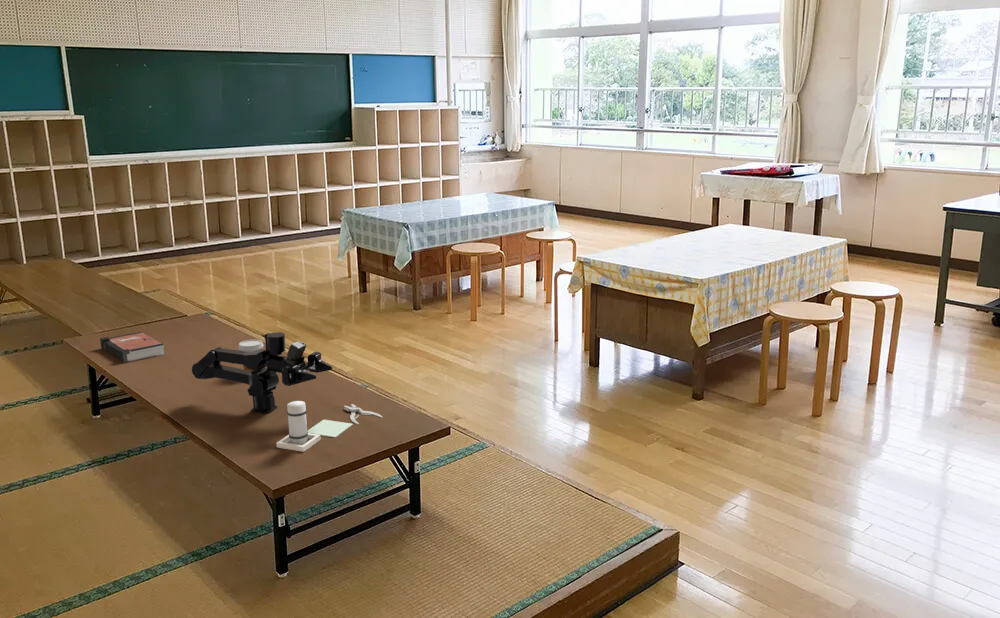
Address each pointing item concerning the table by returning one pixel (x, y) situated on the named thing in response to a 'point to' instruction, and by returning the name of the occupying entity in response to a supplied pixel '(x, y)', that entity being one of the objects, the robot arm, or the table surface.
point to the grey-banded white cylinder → (297, 422)
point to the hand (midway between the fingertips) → (324, 372)
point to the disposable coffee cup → (250, 347)
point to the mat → (329, 428)
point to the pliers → (356, 409)
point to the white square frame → (285, 445)
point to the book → (132, 347)
